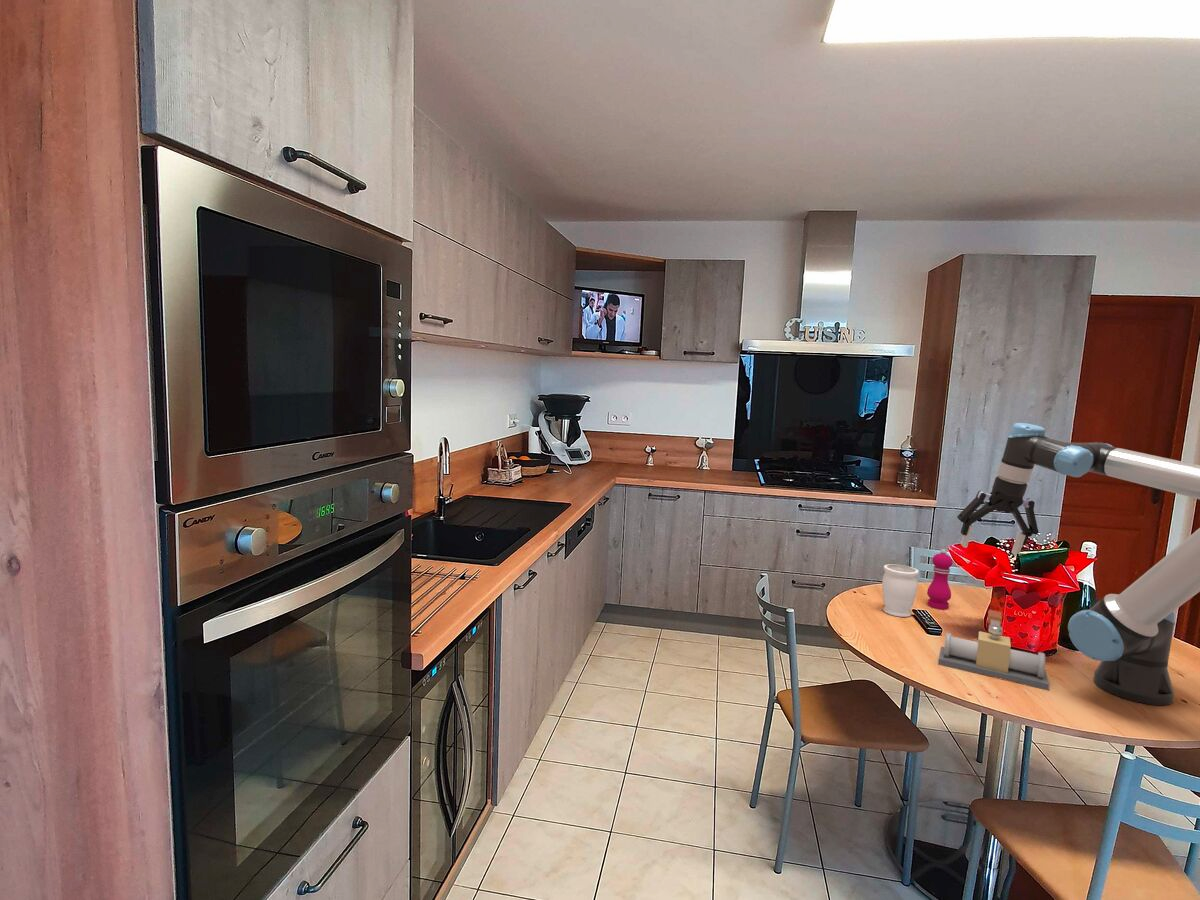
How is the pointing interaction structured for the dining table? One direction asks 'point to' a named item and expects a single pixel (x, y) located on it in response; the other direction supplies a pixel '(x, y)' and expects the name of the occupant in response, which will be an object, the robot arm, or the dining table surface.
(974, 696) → the dining table surface
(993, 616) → the valve lever
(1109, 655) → the robot arm
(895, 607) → the jar
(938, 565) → the pepper mill
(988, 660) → the valve
